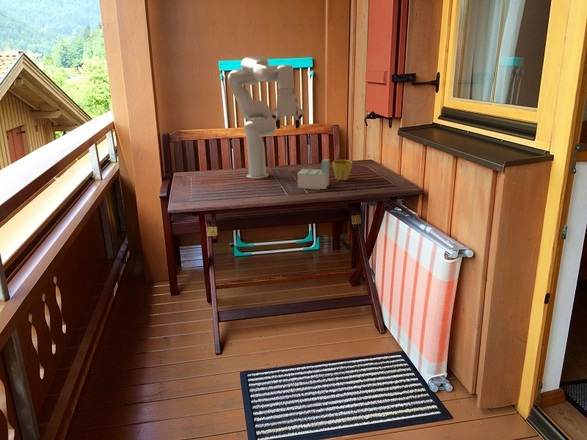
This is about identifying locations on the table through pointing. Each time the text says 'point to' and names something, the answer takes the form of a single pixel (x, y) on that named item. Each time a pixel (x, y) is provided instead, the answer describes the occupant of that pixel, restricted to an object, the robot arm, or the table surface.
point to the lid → (316, 170)
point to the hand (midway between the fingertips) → (287, 128)
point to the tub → (313, 182)
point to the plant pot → (342, 169)
